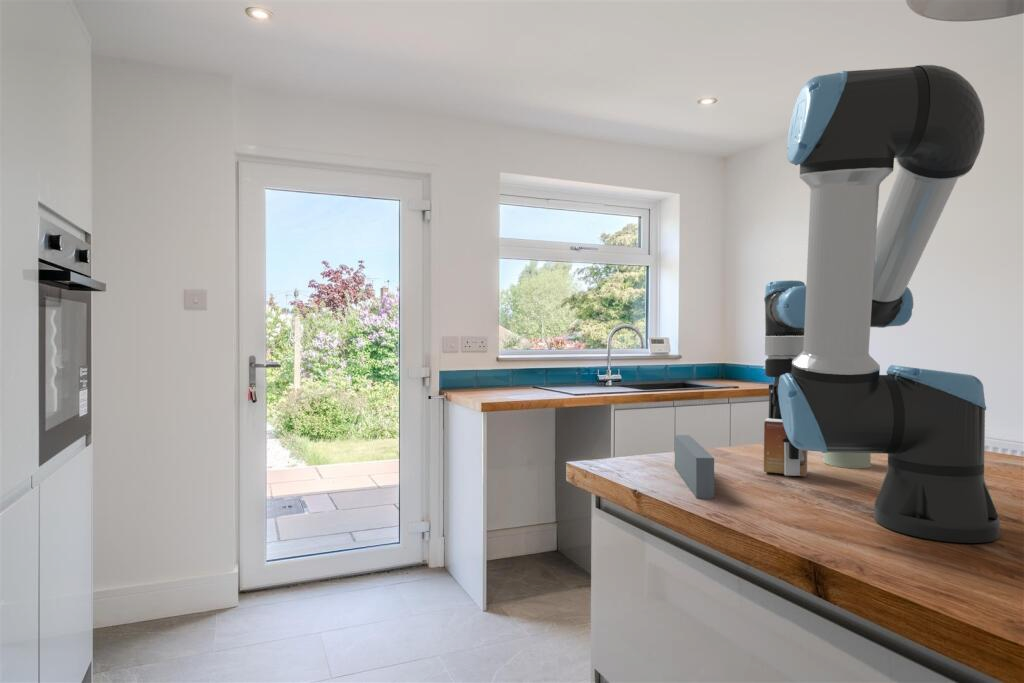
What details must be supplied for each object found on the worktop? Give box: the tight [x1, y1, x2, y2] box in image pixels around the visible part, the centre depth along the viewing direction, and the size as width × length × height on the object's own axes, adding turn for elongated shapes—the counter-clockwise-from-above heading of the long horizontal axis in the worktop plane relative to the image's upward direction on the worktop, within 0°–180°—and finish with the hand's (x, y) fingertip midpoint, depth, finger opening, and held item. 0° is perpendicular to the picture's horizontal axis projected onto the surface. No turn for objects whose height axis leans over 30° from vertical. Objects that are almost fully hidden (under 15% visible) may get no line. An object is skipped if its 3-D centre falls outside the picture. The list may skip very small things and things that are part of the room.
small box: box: [762, 417, 808, 477], centre depth 125 cm, size 8×6×10 cm
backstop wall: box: [674, 434, 715, 499], centre depth 118 cm, size 24×3×7 cm, turn 174°
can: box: [822, 452, 872, 470], centre depth 133 cm, size 9×9×12 cm
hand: (785, 470), depth 125 cm, fingers closed on small box, 7 cm apart
